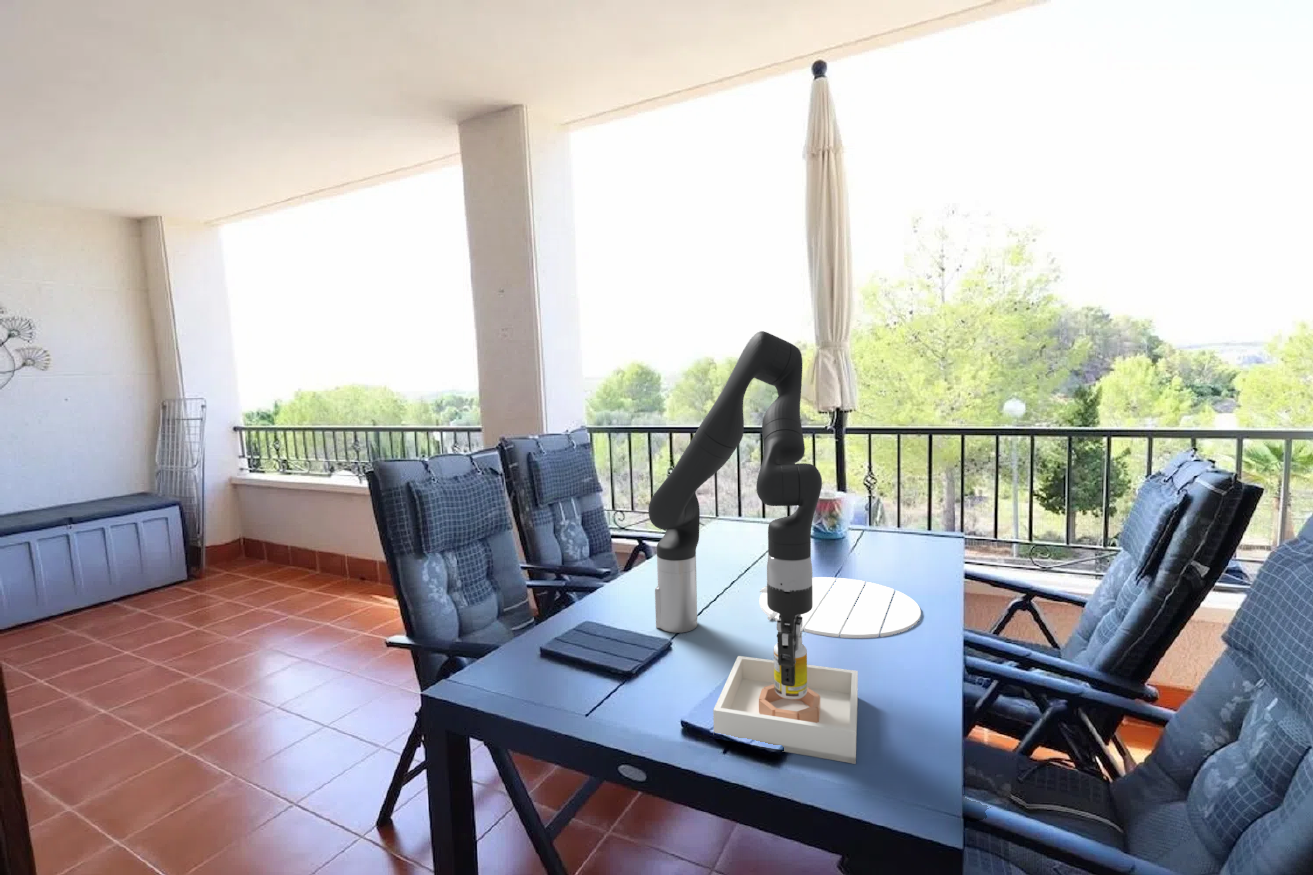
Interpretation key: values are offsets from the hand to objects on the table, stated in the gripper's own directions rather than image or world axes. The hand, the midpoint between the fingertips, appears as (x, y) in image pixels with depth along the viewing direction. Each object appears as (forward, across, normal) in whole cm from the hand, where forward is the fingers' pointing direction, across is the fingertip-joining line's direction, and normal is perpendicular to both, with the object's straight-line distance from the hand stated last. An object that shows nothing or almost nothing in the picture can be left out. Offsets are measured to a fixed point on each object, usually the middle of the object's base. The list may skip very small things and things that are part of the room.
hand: (790, 675), depth 104 cm
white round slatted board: (+8, -55, +5) cm, 56 cm away
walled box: (+7, 0, 0) cm, 7 cm away
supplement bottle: (+3, 0, 0) cm, 3 cm away
